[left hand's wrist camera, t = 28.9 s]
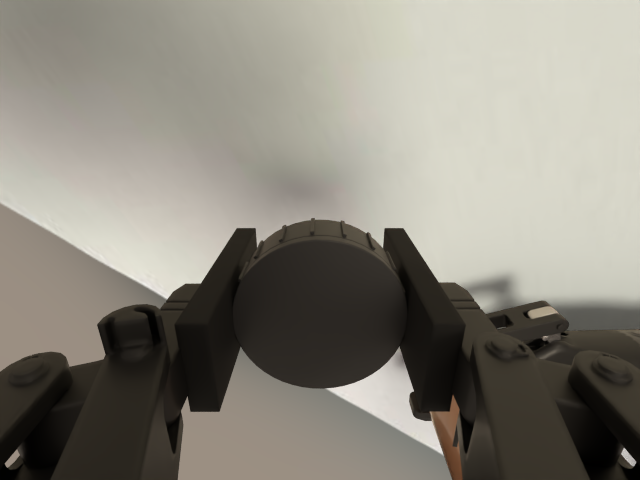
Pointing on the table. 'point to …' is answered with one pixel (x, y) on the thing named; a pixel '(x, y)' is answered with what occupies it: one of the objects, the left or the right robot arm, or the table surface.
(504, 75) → the table surface
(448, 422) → the bottle
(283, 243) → the lid
